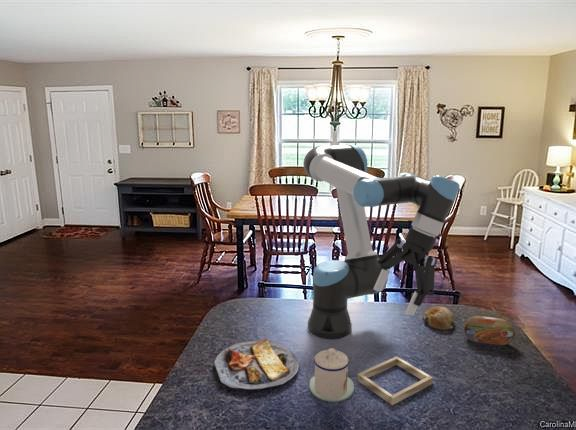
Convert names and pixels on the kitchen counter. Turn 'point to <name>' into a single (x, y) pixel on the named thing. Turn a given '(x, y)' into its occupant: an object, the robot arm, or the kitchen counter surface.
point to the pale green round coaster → (348, 394)
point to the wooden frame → (402, 394)
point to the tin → (489, 330)
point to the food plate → (256, 364)
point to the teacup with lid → (331, 373)
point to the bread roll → (439, 318)
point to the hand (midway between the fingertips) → (392, 301)
